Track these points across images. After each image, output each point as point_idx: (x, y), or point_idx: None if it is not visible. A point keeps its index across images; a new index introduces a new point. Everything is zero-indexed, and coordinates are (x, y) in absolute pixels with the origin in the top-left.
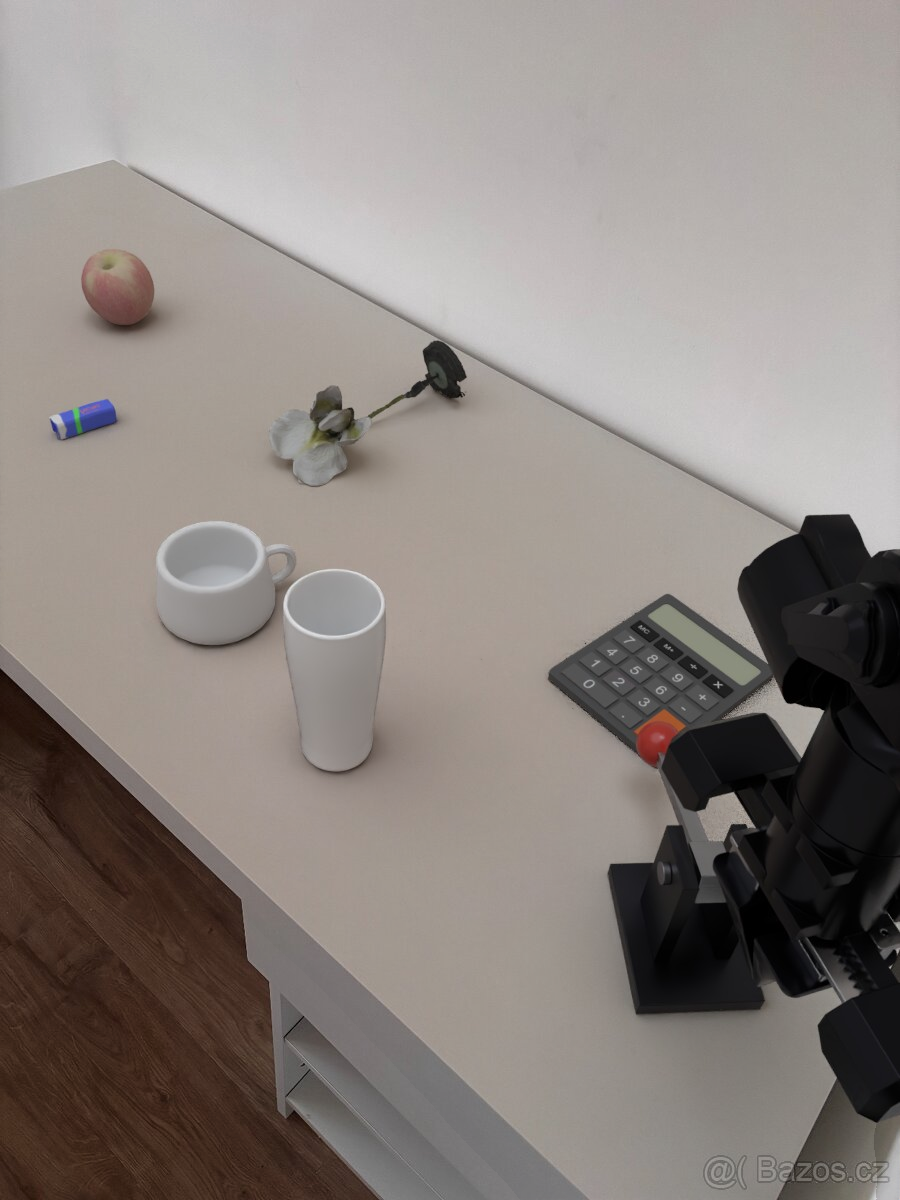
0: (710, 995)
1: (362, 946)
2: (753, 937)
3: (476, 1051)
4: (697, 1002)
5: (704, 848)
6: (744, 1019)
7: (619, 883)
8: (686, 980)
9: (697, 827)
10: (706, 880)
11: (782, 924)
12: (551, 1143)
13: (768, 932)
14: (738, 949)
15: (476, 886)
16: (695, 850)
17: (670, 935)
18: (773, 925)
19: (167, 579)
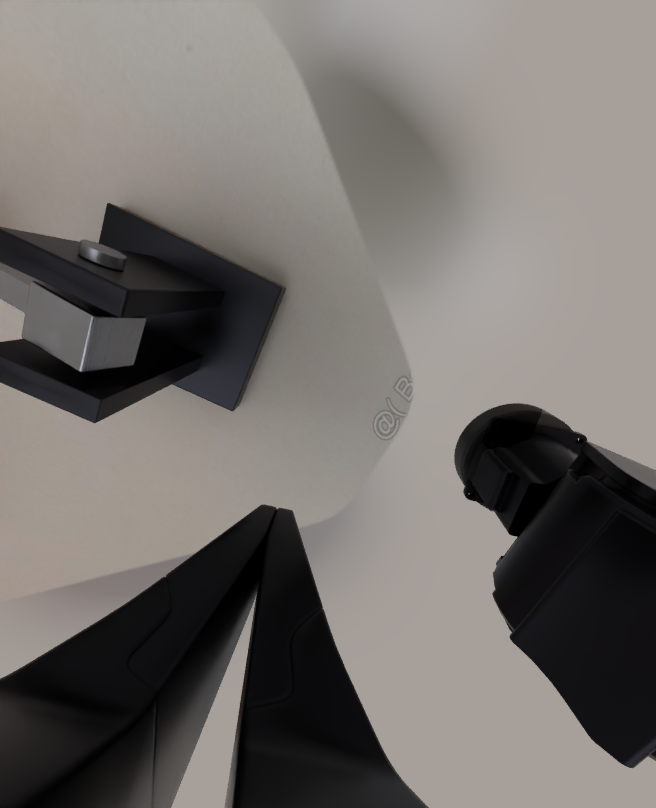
0: (251, 340)
1: (106, 558)
2: (183, 766)
3: (215, 530)
4: (252, 357)
5: (36, 324)
6: (287, 311)
7: None
8: (228, 352)
9: (7, 284)
10: (93, 362)
11: (173, 734)
12: (301, 520)
13: (184, 737)
14: (218, 273)
15: (75, 459)
16: (37, 341)
17: (171, 378)
18: (165, 767)
19: None
